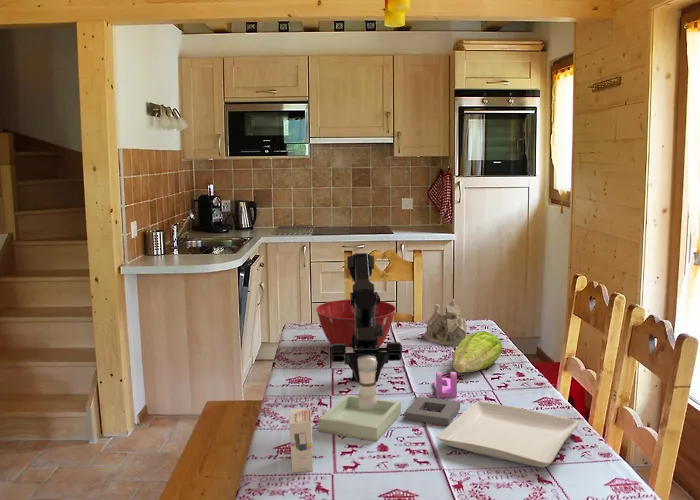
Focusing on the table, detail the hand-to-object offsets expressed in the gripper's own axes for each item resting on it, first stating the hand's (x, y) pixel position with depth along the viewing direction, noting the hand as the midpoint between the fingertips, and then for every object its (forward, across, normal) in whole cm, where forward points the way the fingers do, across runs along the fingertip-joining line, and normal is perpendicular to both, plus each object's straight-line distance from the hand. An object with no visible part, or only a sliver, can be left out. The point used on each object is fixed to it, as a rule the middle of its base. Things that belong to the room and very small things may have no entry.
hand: (367, 381), depth 171 cm
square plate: (+16, +34, +1) cm, 38 cm away
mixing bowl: (-38, -2, +56) cm, 68 cm away
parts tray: (+7, -2, +10) cm, 12 cm away
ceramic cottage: (-45, +32, +63) cm, 83 cm away
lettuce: (-22, +36, +39) cm, 58 cm away
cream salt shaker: (+4, 0, +6) cm, 7 cm away
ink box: (+23, -16, -6) cm, 28 cm away
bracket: (-9, +24, +26) cm, 37 cm away
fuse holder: (+4, +18, +13) cm, 22 cm away
